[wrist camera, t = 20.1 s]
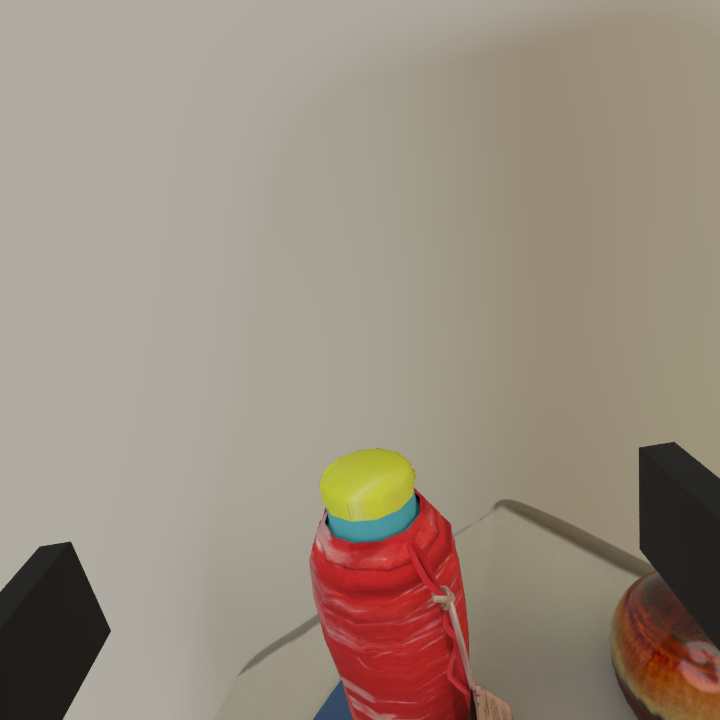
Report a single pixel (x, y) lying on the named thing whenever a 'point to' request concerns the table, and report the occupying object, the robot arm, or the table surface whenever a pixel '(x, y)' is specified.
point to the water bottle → (393, 596)
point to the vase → (663, 655)
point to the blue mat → (335, 706)
